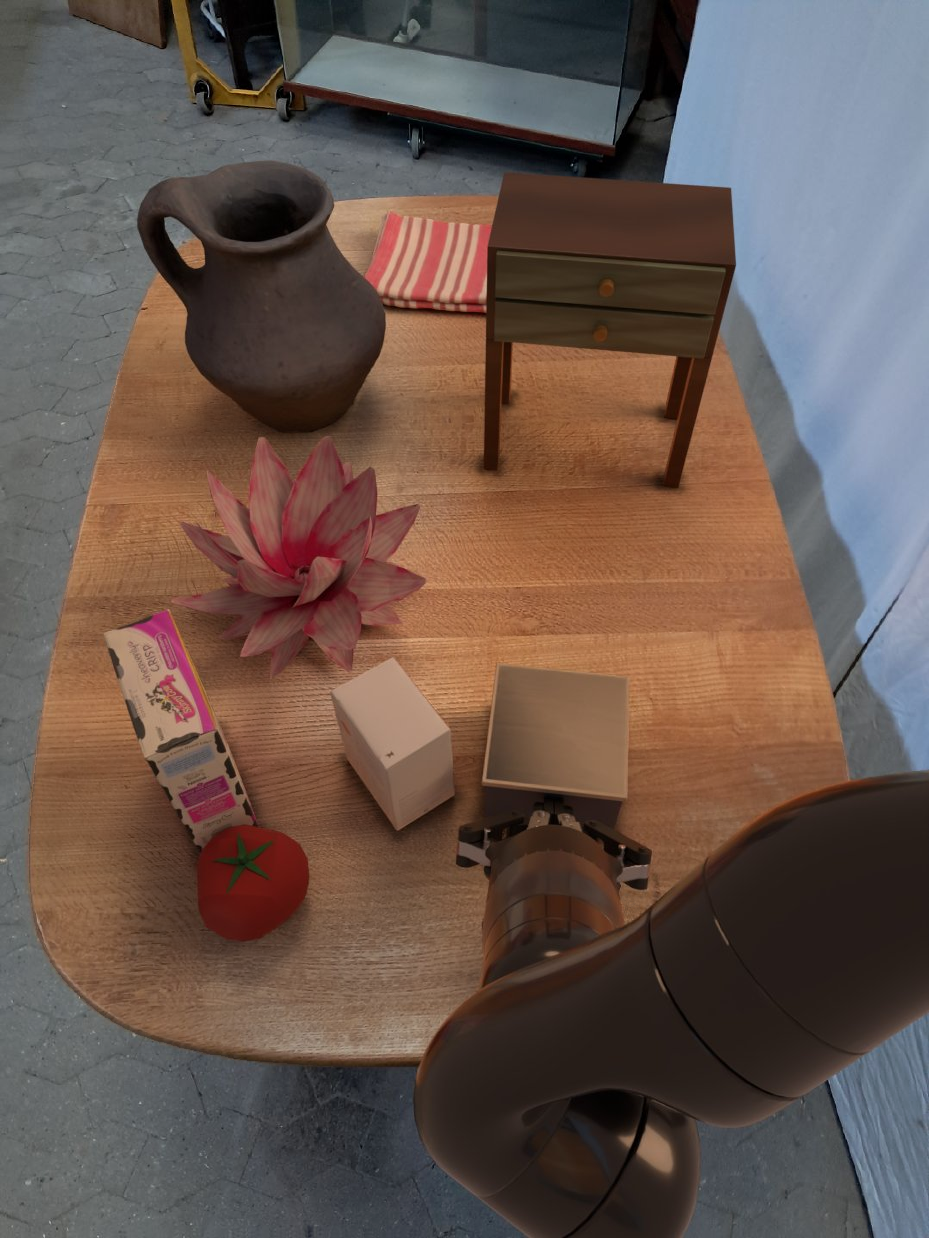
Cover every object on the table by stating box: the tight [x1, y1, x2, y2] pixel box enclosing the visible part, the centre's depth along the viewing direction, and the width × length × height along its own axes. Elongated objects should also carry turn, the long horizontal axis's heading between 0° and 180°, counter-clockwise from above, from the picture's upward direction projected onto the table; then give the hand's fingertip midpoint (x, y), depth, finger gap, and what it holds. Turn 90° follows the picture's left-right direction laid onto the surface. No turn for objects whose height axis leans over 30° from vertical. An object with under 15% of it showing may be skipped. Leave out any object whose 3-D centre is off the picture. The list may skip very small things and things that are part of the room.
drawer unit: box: [483, 171, 737, 489], centre depth 86 cm, size 13×20×25 cm
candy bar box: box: [103, 609, 260, 855], centre depth 66 cm, size 11×5×16 cm, turn 27°
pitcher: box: [136, 160, 387, 434], centre depth 90 cm, size 21×22×25 cm
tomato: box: [196, 824, 310, 943], centre depth 64 cm, size 8×8×7 cm
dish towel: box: [363, 210, 492, 314], centre depth 113 cm, size 17×23×4 cm
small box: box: [329, 656, 456, 832], centre depth 69 cm, size 8×6×10 cm
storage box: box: [481, 662, 631, 830], centre depth 71 cm, size 10×10×7 cm
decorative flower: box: [170, 435, 427, 679], centre depth 77 cm, size 21×21×15 cm
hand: (551, 810), depth 66 cm, fingers closed
